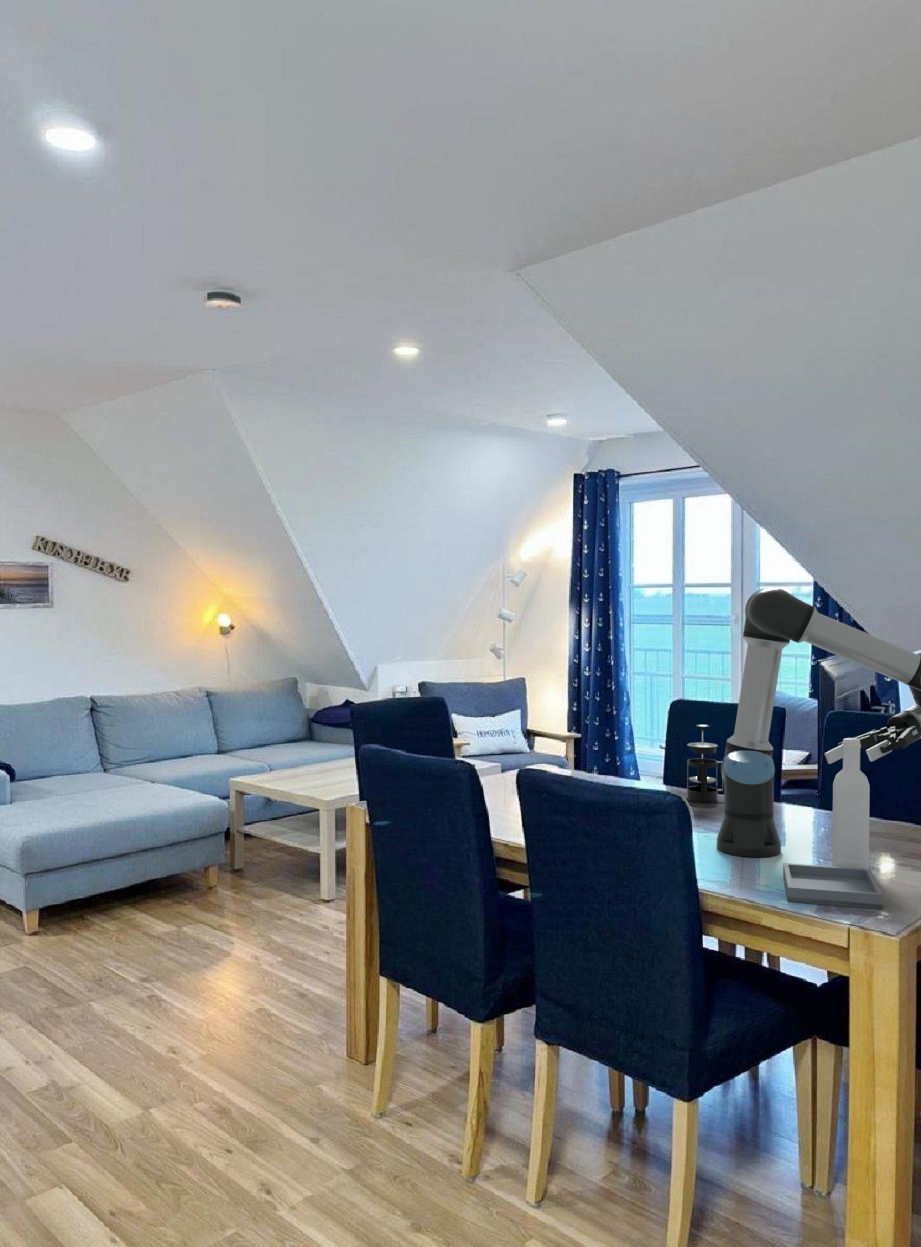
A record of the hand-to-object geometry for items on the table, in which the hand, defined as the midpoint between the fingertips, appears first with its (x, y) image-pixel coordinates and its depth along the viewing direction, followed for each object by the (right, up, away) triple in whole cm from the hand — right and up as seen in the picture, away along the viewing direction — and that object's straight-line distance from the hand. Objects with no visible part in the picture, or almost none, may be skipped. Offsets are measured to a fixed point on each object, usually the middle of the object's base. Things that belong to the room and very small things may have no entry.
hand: (847, 757), depth 223 cm
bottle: (-2, -25, -7) cm, 26 cm away
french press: (-17, -22, +66) cm, 71 cm away
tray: (-13, -25, -23) cm, 36 cm away
